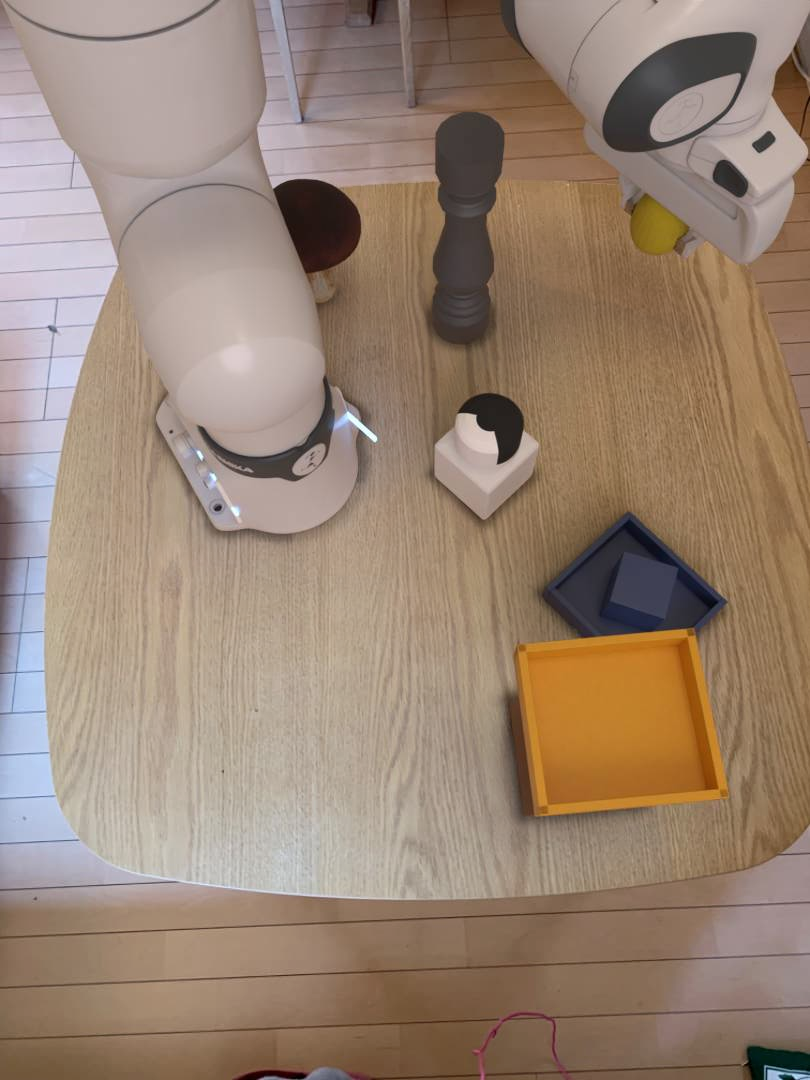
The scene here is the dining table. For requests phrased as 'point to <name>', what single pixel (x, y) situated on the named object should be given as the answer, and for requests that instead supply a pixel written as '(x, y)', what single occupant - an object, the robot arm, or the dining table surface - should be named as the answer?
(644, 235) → the lemon
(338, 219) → the decorative mushroom
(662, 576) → the navy block
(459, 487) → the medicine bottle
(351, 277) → the dining table surface
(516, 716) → the ochre tray
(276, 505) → the robot arm
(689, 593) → the navy tray
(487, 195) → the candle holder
